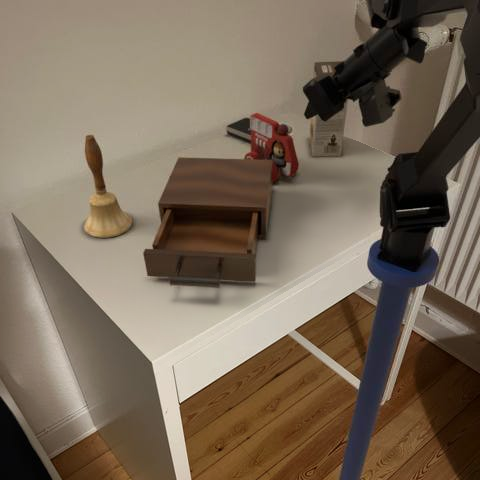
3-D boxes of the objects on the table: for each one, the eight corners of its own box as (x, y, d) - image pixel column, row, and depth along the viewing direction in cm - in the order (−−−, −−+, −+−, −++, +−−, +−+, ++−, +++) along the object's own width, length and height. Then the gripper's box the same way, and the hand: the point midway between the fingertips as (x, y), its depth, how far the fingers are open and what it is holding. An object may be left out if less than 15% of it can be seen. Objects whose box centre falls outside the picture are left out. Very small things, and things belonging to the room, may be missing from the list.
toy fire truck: (279, 190, 96) (280, 136, 89) (239, 167, 103) (237, 116, 96) (305, 178, 99) (309, 126, 92) (264, 157, 106) (265, 107, 99)
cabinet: (265, 239, 84) (266, 207, 80) (162, 235, 86) (157, 203, 82) (272, 190, 96) (273, 159, 92) (181, 187, 98) (178, 157, 94)
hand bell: (124, 208, 93) (106, 121, 82) (138, 230, 87) (121, 140, 76) (79, 220, 90) (55, 132, 79) (91, 243, 85) (66, 152, 74)
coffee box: (308, 138, 113) (313, 60, 102) (337, 138, 112) (345, 60, 101) (311, 157, 106) (317, 76, 95) (342, 156, 106) (352, 75, 95)
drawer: (252, 301, 72) (252, 277, 69) (140, 294, 73) (135, 271, 70) (263, 224, 86) (263, 202, 83) (169, 221, 87) (166, 198, 85)
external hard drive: (246, 125, 119) (246, 117, 117) (282, 138, 113) (282, 129, 112) (225, 134, 115) (225, 126, 114) (261, 148, 109) (261, 139, 108)
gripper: (382, 121, 72) (310, 172, 84) (431, 82, 83) (360, 133, 95) (339, 52, 70) (271, 115, 83) (395, 22, 81) (328, 82, 93)
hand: (311, 113), depth 88 cm, fingers open, 4 cm apart
